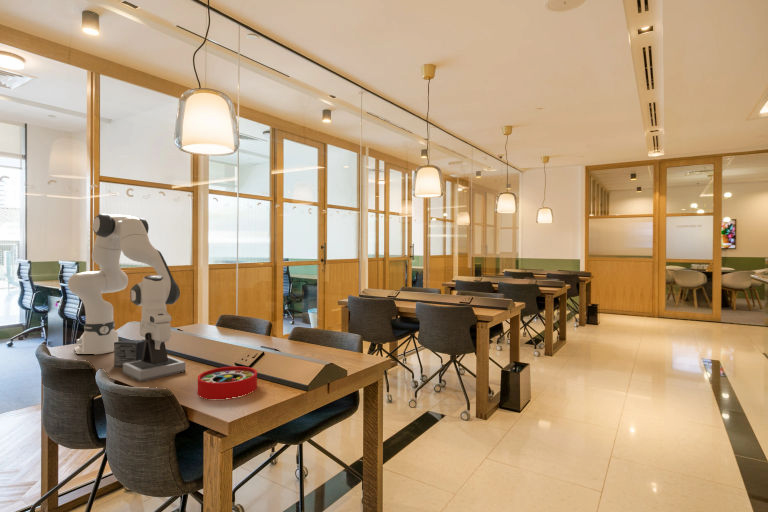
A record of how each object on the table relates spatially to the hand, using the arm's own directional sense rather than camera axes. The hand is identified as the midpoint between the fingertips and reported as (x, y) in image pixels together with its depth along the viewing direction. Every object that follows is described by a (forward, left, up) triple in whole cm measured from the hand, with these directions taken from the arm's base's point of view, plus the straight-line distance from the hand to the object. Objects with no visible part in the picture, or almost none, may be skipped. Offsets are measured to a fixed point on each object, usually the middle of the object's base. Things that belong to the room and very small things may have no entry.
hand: (154, 349), depth 169 cm
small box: (-19, -2, -10) cm, 21 cm away
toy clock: (+41, +8, -10) cm, 43 cm away
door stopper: (0, 0, -5) cm, 5 cm away
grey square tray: (0, 0, -9) cm, 9 cm away
